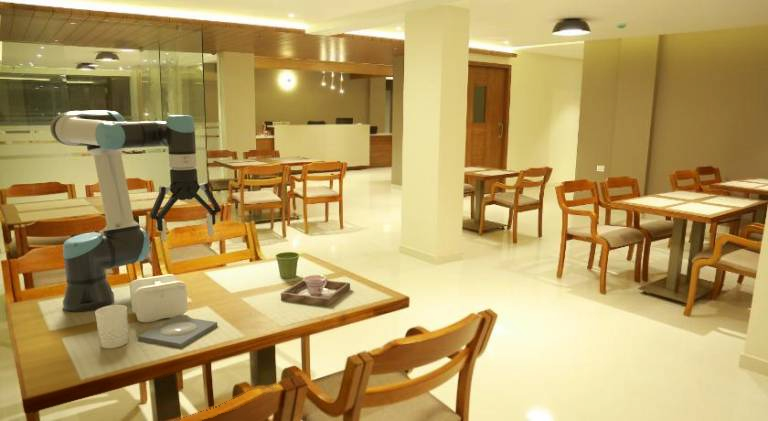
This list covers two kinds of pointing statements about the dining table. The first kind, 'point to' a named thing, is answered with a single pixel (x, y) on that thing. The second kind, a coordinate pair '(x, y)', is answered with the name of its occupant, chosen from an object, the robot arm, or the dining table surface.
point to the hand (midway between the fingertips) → (187, 238)
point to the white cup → (112, 325)
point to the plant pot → (287, 264)
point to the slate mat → (178, 331)
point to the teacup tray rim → (290, 296)
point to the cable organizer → (158, 298)
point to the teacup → (316, 286)
